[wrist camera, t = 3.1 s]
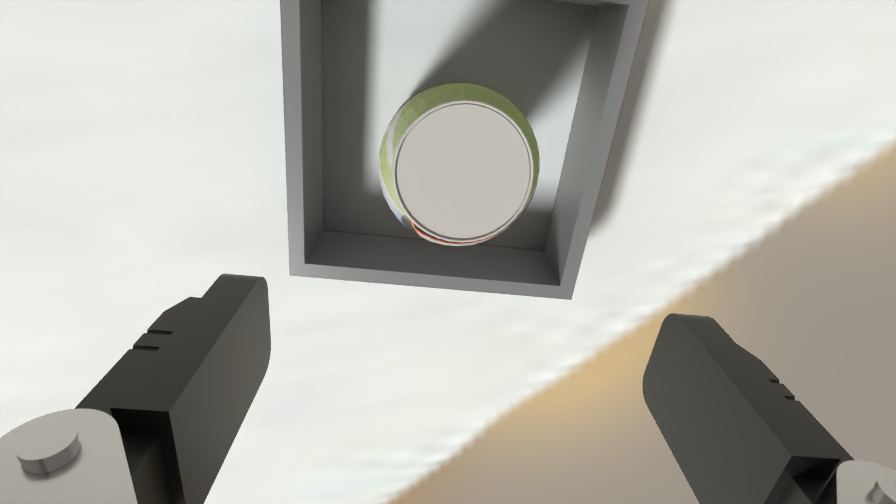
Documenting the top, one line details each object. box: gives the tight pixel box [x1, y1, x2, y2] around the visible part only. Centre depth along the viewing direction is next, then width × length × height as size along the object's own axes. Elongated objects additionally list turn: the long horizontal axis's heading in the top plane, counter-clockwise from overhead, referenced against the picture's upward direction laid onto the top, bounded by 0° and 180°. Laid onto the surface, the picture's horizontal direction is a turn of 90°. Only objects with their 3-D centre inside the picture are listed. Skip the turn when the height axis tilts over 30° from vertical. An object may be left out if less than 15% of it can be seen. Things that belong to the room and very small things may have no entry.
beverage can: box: [378, 83, 539, 246], centre depth 22 cm, size 6×7×12 cm
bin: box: [280, 0, 649, 300], centre depth 25 cm, size 16×16×4 cm
